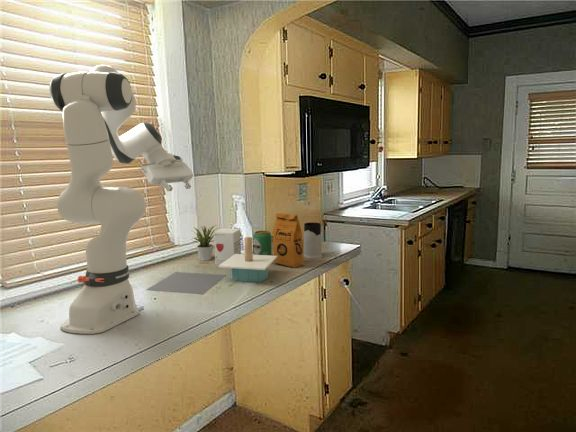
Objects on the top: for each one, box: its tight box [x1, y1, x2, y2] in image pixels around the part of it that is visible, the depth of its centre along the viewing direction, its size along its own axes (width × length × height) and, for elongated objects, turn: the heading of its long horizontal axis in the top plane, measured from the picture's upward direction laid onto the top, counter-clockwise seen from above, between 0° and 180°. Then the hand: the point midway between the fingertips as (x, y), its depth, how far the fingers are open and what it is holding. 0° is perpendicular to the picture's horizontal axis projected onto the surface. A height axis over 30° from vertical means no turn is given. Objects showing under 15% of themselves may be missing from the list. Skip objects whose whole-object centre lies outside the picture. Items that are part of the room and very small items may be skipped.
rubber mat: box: [145, 271, 227, 295], centre depth 156 cm, size 22×22×1 cm
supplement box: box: [213, 227, 242, 266], centre depth 181 cm, size 9×9×15 cm
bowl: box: [230, 266, 269, 283], centre depth 163 cm, size 14×14×6 cm
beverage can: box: [252, 230, 273, 256], centre depth 190 cm, size 8×8×12 cm
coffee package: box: [272, 212, 304, 269], centre depth 178 cm, size 10×12×22 cm
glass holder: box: [303, 221, 324, 259], centre depth 194 cm, size 9×14×15 cm, turn 147°
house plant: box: [191, 224, 219, 262], centre depth 189 cm, size 14×14×16 cm
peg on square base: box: [217, 236, 277, 270], centre depth 161 cm, size 18×18×10 cm
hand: (180, 189), depth 161 cm, fingers open, 8 cm apart
